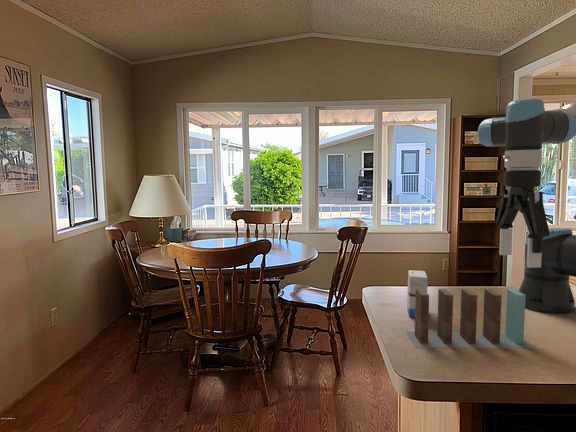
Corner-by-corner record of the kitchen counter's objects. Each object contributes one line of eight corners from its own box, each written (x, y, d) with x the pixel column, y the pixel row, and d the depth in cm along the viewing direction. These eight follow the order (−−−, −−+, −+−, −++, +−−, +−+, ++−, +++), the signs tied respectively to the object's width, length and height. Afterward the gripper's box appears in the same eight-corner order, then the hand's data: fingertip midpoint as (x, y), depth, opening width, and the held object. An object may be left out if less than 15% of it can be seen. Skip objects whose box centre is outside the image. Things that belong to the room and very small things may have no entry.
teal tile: (512, 335, 108) (514, 289, 107) (523, 343, 103) (525, 295, 102) (505, 335, 108) (507, 289, 107) (515, 343, 103) (517, 295, 102)
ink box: (427, 319, 121) (428, 277, 120) (408, 318, 122) (409, 276, 121) (424, 309, 130) (425, 270, 128) (406, 308, 131) (407, 269, 129)
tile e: (422, 335, 109) (423, 289, 108) (427, 343, 104) (429, 295, 102) (414, 335, 109) (415, 289, 108) (420, 343, 104) (421, 295, 102)
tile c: (467, 335, 108) (469, 289, 107) (475, 343, 103) (477, 295, 102) (459, 335, 108) (461, 289, 107) (467, 343, 103) (469, 295, 102)
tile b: (490, 335, 108) (492, 289, 107) (499, 343, 103) (501, 295, 102) (482, 335, 108) (484, 289, 107) (491, 343, 103) (493, 295, 102)
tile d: (444, 335, 109) (446, 289, 107) (451, 343, 103) (453, 295, 102) (437, 335, 109) (438, 289, 107) (443, 343, 103) (445, 295, 102)
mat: (514, 333, 110) (515, 331, 110) (535, 349, 100) (536, 348, 100) (405, 333, 111) (405, 331, 111) (415, 349, 101) (415, 347, 101)
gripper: (483, 169, 114) (481, 250, 116) (533, 170, 89) (529, 273, 91) (513, 168, 113) (510, 250, 116) (572, 169, 89) (566, 273, 91)
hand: (518, 260), depth 104 cm, fingers open, 13 cm apart
